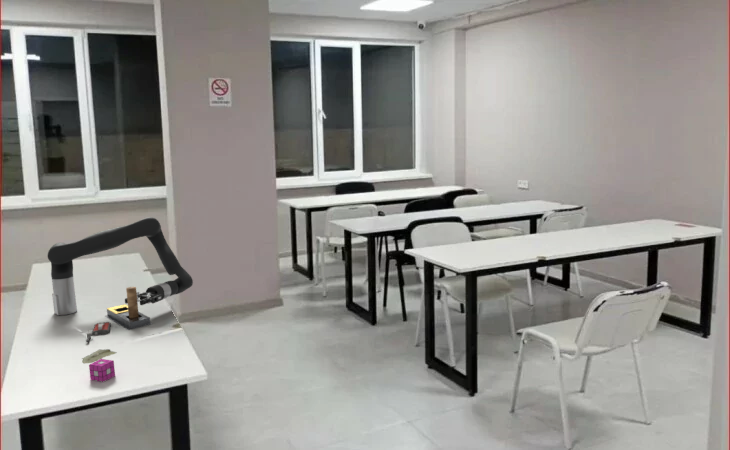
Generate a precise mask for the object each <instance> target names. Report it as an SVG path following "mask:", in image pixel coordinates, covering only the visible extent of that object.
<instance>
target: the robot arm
mask: <svg viewBox="0 0 730 450" xmlns="http://www.w3.org/2000/svg"><path fill="white" fill-rule="evenodd" d="M163 233H164V232H163V230H162V225H161V223H160V222H159V220H158V219H157V218H155V217H152V216H148V217H144V218H142V219H139V220H137V221H134V222H132V223H129V224H126V225H122V226H118V227H114V228H109V229H105V230H102V231H98V232H96V233H93V234H91V235H88V236H86V237H84V238H82V239H80V240H77V241H74V242H70V243H65V242H57V243H54V244H53V245H52V246H51V247H50V248H49V250H48V252H47V259H48V261H49V262H50V265H51V268H50V269H51V270H50V271H51V272H50V277H51V285H52V291H53V293H52V295H51V296H52V306H53V312H54V314H55V315H56V316H64V315H71V314H74V313H76V312H77V311H78V307H77V299H76V296H77V295H76V288H75V280H74V279H75V278H74V263H73V260H75V259H78V258H80V257H84V256H87V255H89V256H90V255H92V254H93V255H94V254H97V253H101V252H104V251H108V250H112V249H115V248H117V247H120V246H122V245H124V244H125V243H127V242H129V241H131V240H135V239H140V238H144V237H145V238H147V239H148V241H149V242H151V244H152V246H153V247H154V250H155V251H156V254H157V255H158V258H159V260H160V261H161V264H162V265H163V267H164V269H165V271H166V273H167V274H168V275H169V276H174V275H175V276H176V277H177V278H176V279H173V280H168V281H165V282H161V283H158V284H154V285H152V286H149V287H147V289H146V291H143V292H139V291H136V292H137V303H138V302H139V305H140V306H144V305H146V304H149V305H150V304H156V303H157V302H160V301H163V300H166V299H167V298H169V297H172V296H174V295H179V294H181V293H183V292H185V291H187V290H188V289H190V288H191V287H192V286H193V284H194V282H193V281H194V279H193V278H192V276H191V275H190V274H189V272H188V271H186V269H184V267H182V265H181V264H180V262H179V260H178V259H177V256H176V255H175V253H174V252H173V250H172V249H171V246H170V245H169V244H168V243H167V240H166V237H165V236H164V234H163ZM124 304H126V305H128V301H127V297H126V298H124Z"/></svg>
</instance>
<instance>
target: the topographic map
mask: <svg viewBox="0 0 730 450" xmlns="http://www.w3.org/2000/svg"><path fill="white" fill-rule="evenodd" d="M117 353H118V352H117V351H113V350H111V348H110V349H108V348H107V349H106V348H105V349H97V350H95V351H93V352H91V353H90V354H88V355H86V356H84V357H82V358H81V361H82V362H81V363H83V364H92V363H94V362H96V361H98V360H100V359H104V358H106V357H109V356H111V355H115V354H117Z"/></svg>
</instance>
